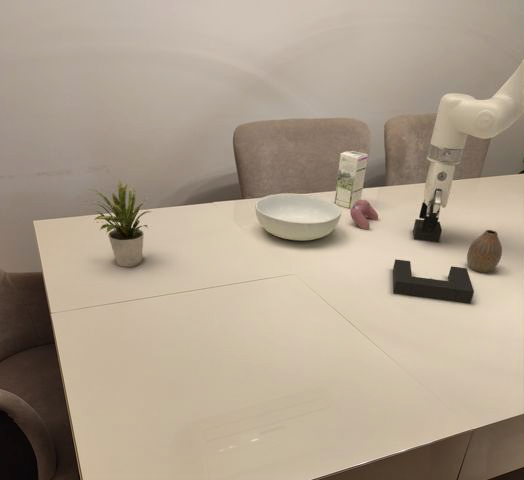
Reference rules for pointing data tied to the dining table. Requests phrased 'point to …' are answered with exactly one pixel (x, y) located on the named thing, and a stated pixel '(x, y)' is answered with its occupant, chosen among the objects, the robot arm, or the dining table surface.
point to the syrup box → (350, 178)
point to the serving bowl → (297, 216)
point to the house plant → (124, 228)
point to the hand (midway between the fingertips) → (426, 225)
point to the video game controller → (363, 213)
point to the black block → (423, 235)
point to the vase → (485, 252)
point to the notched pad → (432, 284)
